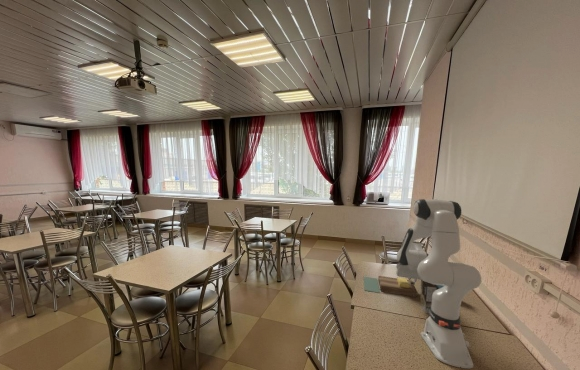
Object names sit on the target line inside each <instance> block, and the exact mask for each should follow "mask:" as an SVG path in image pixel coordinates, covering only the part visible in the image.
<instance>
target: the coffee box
mask: <svg viewBox="0 0 580 370" xmlns="http://www.w3.org/2000/svg"><path fill="white" fill-rule="evenodd" d="M437 289H439V287H438V286H437V285H435V284H431V283H428V282H425V281H423V280H422V279H421V280H420V292H419V293H420V294H419V306H420V307H421V309H422V310H423V311H424V313H425V314H429V315H430V307H431V304H432V294H433V292H434V291H435V290H437Z"/></svg>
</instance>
